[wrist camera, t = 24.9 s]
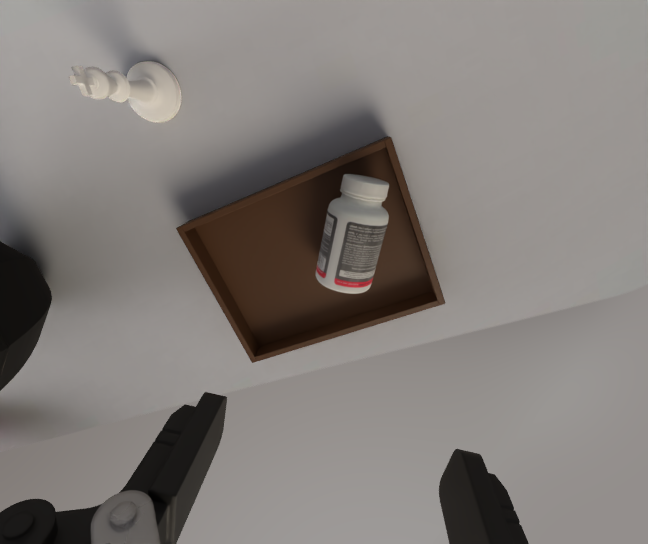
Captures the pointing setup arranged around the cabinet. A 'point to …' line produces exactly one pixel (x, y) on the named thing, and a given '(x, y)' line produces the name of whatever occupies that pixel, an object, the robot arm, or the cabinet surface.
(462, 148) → the cabinet surface
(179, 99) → the chess piece
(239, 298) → the tray
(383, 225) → the pill bottle
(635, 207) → the cabinet surface
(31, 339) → the table lamp
